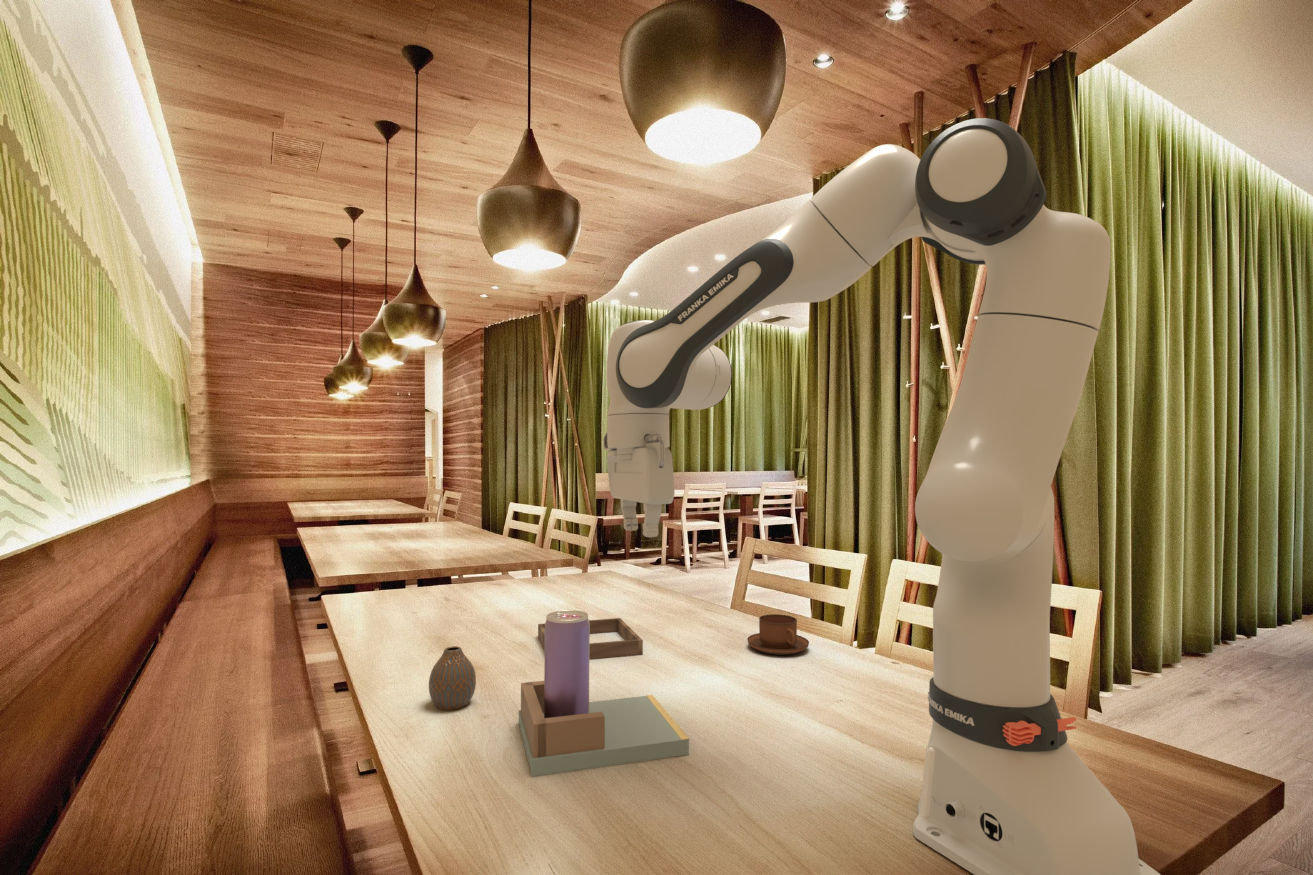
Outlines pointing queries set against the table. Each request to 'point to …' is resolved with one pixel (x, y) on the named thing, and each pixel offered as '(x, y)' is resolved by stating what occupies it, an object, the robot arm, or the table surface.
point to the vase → (452, 680)
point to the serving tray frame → (608, 649)
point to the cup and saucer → (778, 635)
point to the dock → (596, 733)
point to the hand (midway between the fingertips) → (640, 533)
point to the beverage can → (566, 663)
